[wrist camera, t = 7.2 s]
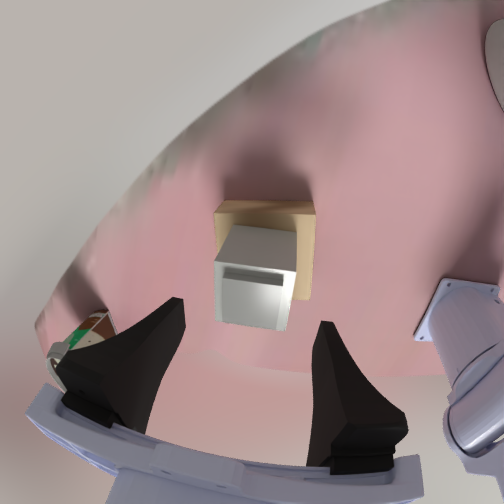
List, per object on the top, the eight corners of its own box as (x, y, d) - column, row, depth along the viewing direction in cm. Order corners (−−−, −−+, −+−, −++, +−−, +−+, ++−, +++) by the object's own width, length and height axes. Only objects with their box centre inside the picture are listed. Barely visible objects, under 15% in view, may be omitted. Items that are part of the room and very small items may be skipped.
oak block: (312, 200, 21) (315, 215, 18) (308, 276, 24) (309, 300, 21) (225, 199, 22) (213, 213, 19) (231, 273, 25) (222, 295, 22)
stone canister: (297, 232, 19) (296, 278, 14) (288, 285, 21) (284, 338, 16) (233, 224, 19) (211, 266, 14) (231, 277, 21) (212, 327, 16)
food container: (71, 293, 30) (26, 341, 22) (105, 300, 30) (59, 356, 21) (100, 357, 36) (70, 403, 27) (131, 366, 35) (103, 418, 27)
